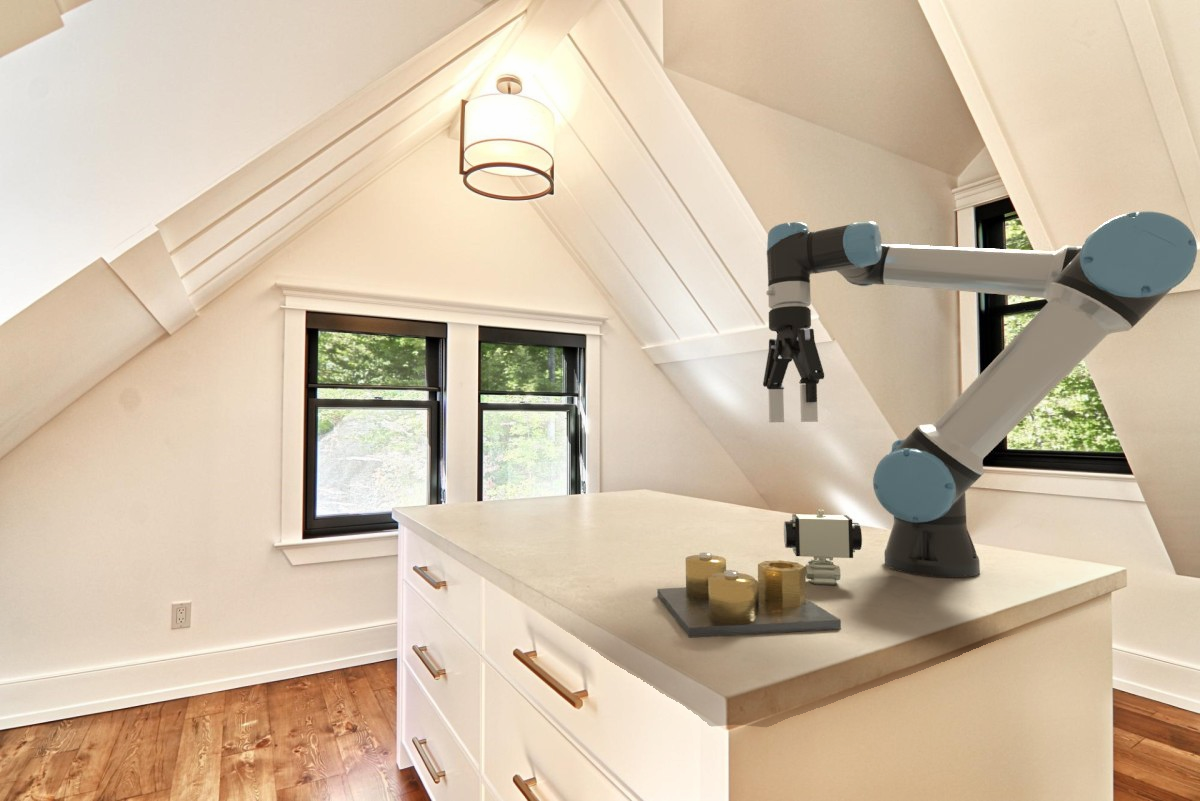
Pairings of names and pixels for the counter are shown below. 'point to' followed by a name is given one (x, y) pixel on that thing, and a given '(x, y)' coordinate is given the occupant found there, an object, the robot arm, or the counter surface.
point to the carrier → (734, 604)
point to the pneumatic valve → (822, 543)
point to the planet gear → (782, 583)
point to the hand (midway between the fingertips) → (791, 422)
